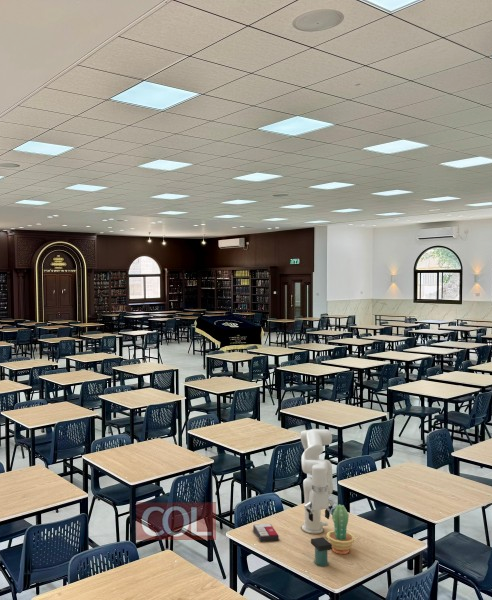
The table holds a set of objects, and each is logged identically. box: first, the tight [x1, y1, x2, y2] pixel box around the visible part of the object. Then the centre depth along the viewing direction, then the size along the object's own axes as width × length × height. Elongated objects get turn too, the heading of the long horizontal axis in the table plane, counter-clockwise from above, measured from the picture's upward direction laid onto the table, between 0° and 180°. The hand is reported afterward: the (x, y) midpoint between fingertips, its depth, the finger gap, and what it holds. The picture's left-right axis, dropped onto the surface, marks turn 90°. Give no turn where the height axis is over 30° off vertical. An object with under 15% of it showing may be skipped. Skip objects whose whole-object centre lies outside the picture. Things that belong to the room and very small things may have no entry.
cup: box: [314, 547, 329, 567], centre depth 295 cm, size 6×6×9 cm
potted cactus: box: [326, 503, 356, 555], centre depth 309 cm, size 15×15×25 cm
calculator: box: [252, 523, 280, 543], centre depth 328 cm, size 11×4×15 cm
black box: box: [310, 537, 333, 551], centre depth 295 cm, size 7×9×3 cm
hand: (319, 519), depth 298 cm, fingers open, 9 cm apart
